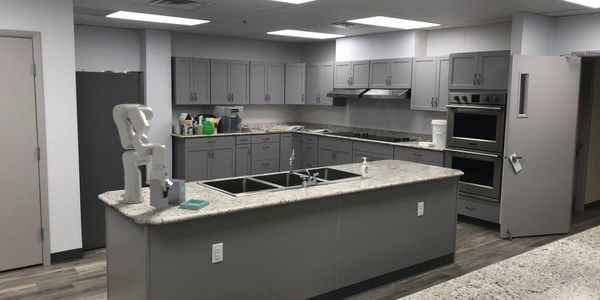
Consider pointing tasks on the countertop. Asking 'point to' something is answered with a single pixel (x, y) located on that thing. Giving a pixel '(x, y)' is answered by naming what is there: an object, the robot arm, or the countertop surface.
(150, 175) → the robot arm
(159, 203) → the skincare box
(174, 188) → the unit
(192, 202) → the tray
